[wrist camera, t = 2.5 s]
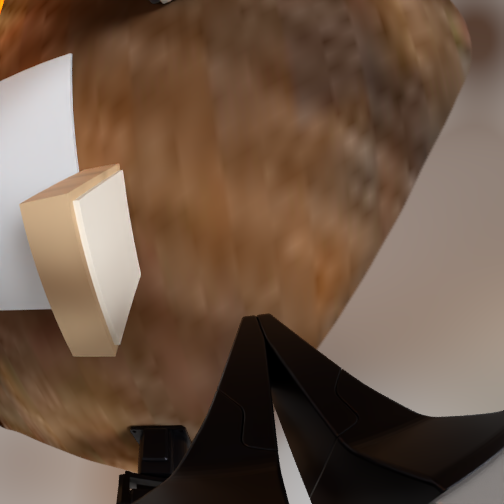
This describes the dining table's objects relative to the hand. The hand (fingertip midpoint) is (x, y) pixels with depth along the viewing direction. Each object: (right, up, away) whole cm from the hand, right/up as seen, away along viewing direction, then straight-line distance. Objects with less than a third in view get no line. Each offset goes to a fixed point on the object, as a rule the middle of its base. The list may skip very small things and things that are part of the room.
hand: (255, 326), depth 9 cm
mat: (-19, +6, +6) cm, 21 cm away
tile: (-9, +4, +9) cm, 14 cm away
